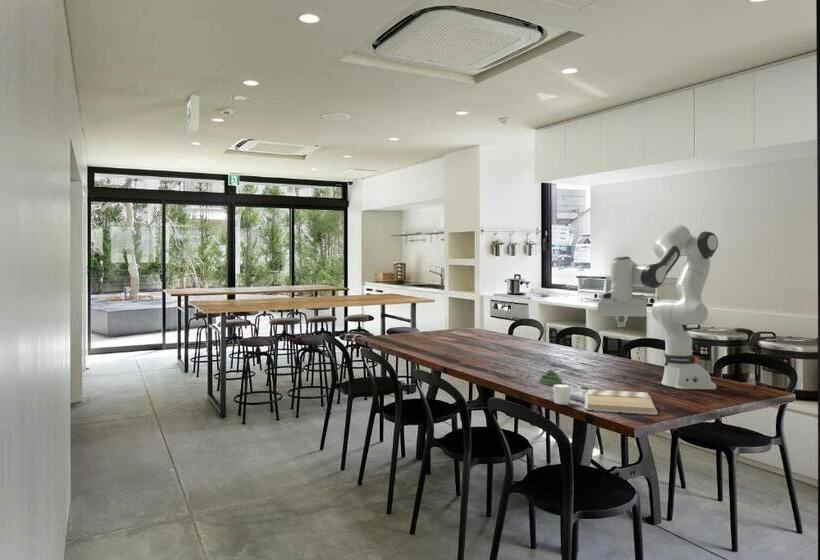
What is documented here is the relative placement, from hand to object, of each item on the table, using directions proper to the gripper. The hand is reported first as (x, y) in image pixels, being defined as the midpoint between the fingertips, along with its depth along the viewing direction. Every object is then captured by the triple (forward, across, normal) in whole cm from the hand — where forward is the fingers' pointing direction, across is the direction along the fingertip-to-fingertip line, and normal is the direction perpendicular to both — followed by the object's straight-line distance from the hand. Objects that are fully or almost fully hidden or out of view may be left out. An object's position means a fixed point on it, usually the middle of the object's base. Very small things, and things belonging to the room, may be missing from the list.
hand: (621, 326), depth 248 cm
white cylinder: (+29, +24, +22) cm, 44 cm away
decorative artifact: (+30, +30, -13) cm, 44 cm away
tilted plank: (+28, +2, +12) cm, 30 cm away
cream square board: (+29, +2, +19) cm, 35 cm away
